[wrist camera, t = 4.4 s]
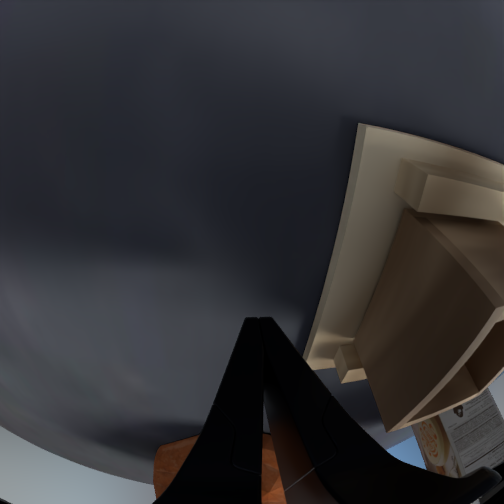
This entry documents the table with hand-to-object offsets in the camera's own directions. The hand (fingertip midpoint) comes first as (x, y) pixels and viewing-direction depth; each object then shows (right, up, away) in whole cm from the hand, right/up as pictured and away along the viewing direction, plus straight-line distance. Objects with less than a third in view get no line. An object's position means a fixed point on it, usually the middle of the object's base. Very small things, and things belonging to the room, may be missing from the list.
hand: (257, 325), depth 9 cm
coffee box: (+20, -13, +14) cm, 27 cm away
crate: (+8, +1, +2) cm, 8 cm away
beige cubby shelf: (+13, +1, +3) cm, 13 cm away
